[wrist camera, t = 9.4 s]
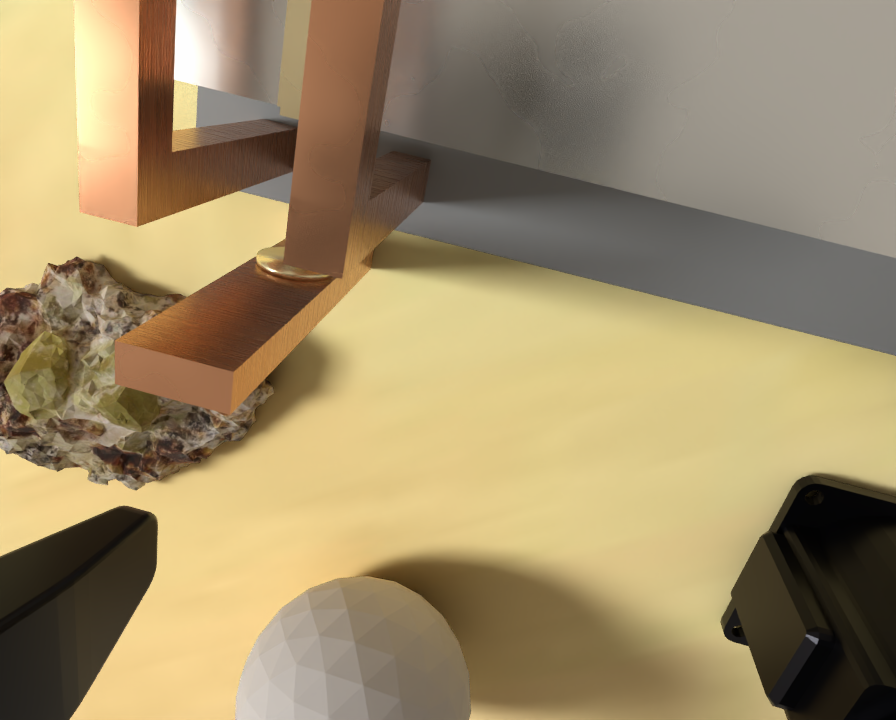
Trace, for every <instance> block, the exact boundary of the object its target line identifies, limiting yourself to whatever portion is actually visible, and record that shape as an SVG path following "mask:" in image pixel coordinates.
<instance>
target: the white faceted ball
mask: <svg viewBox="0 0 896 720" xmlns="http://www.w3.org/2000/svg"><path fill="white" fill-rule="evenodd" d="M470 713H471V704H470V681H469V671H468V668H467V665H466V662H465V659H464V656H463V653H462V650H461V647H460V644H459V641H458V639H457V638H456V636H455V635H454V633H453V631H452V630H451V628H450V626H449V625H448V623H447V622H446V620H445V618H444V617H443V615H442V614H441V613H439V612H438V611H437V610H436V609H435V608H434V607H433V606H432V605H431V604H430V603H429V602H428V601H426V600H425V599H424V598H423V597H422V596H421V595H420V594H418V593H416V592H414V591H412V590H410V589H408V588H406V587H405V586H403V585H401V584H399V583H397V582H395V581H390V580H385V579H380V578H374V577H369V576H361V577H350V578H339V579H335V580H332V581H329V582H326V583H324V584H321V585H318V586H315V587H312V588H310V589H308V590H306V591H305V592H304V593H302V594H301V595H299V596H298V597H296V598H295V599H294V600H292V601H291V602H289V603H288V604H286V605H285V606H284V607H282V608H281V609H280V611H279V612H278V613H277V614H276V615H275V617H274V618H273V619H272V620H271V621H270V623H269V624H268V625H267V626H266V628H265V629H264V630H263V631H262V633H261V634H260V635H259V636H258V638H257V640H256V642H255V644H254V646H253V648H252V650H251V652H250V654H249V656H248V658H247V660H246V663H245V666H244V669H243V672H242V675H241V679H240V683H239V687H238V691H237V696H236V713H235V720H469V717H470Z"/></svg>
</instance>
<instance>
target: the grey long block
mask: <svg viewBox="0 0 896 720" xmlns="http://www.w3.org/2000/svg"><path fill="white" fill-rule="evenodd" d="M311 1H312V0H176V33H175V66H174V80H178V81H182V82H186V83H190V84H194V85H198V86H202V87H206V88H210V89H214V90H218V91H222V92H227V93H231V94H235V95H239V96H243V97H247V98H251V99H255V100H259V101H263V102H267V103H271V104H275V105H277V106H278V107H280V115H281V116H285V117H289V118H293V119H297V120H299V112H300V103H301V93H302V84H303V75H304V66H305V56H306V47H307V38H308V29H309V20H310V10H311ZM380 131H384V132H388V133H392V134H396V135H400V136H404V137H408V138H412V139H417V140H421V141H425V142H429V143H433V144H437V145H441V146H445V147H449V148H453V149H457V150H461V151H465V152H469V153H473V154H477V155H481V156H485V157H489V158H493V159H497V160H501V161H505V162H510V163H514V164H518V165H522V166H526V167H530V168H534V169H538V170H542V171H546V172H550V173H554V174H558V175H562V176H566V177H570V178H574V179H578V180H582V181H586V182H590V183H594V184H598V185H603V186H607V187H611V188H615V189H619V190H623V191H627V192H631V193H635V194H639V195H643V196H647V197H651V198H655V199H659V200H663V201H667V202H671V203H675V204H679V205H683V206H687V207H691V208H695V209H700V210H704V211H708V212H712V213H716V214H720V215H724V216H728V217H732V218H736V219H740V220H744V221H748V222H752V223H756V224H760V225H764V226H768V227H772V228H776V229H780V230H784V231H788V232H793V233H797V234H801V235H805V236H809V237H813V238H817V239H821V240H825V241H829V242H833V243H837V244H841V245H845V246H849V247H853V248H857V249H861V250H865V251H869V252H873V253H877V254H881V255H886V256H890V257H894V258H896V0H401V4H400V11H399V17H398V23H397V29H396V36H395V42H394V48H393V54H392V61H391V67H390V73H389V79H388V86H387V92H386V98H385V104H384V111H383V117H382V123H381V129H380Z"/></svg>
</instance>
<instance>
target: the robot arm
mask: <svg viewBox="0 0 896 720" xmlns="http://www.w3.org/2000/svg"><path fill="white" fill-rule="evenodd" d="M811 491H818V493H817V494H816V495H815V496H812V497H805V496H806V495H807V494H808V493H809V492H811ZM157 536H158V522H157V518H156V516H155V515H154V514H152V513H151V512H147V511H144V510H140V509H136V508H133V507H129V506H119V507H116V508H114V509H111V510H109V511H106V512H104V513H102V514H99V515H97V516H95V517H92V518H90V519H88V520H85V521H83V522H80V523H78V524H76V525H73V526H71V527H69V528H66V529H64V530H62V531H59V532H57V533H54V534H52V535H50V536H47V537H45V538H43V539H40V540H38V541H36V542H33V543H31V544H28V545H26V546H24V547H21V548H19V549H17V550H14V551H12V552H10V553H7V554H5V555H2V556H0V720H70V718H71V717H72V715H73V714H74V712H75V711H76V709H77V708H78V706H79V705H80V703H81V702H82V700H83V698H84V697H85V695H86V694H87V692H88V690H89V689H90V687H91V685H92V684H93V682H94V680H95V679H96V677H97V675H98V674H99V672H100V670H101V668H102V667H103V665H104V663H105V662H106V660H107V658H108V656H109V655H110V653H111V651H112V650H113V648H114V646H115V644H116V643H117V641H118V639H119V638H120V636H121V634H122V632H123V631H124V629H125V627H126V626H127V624H128V622H129V620H130V619H131V617H132V615H133V614H134V612H135V610H136V608H137V607H138V605H139V603H140V602H141V600H142V598H143V596H144V595H145V593H146V591H147V590H148V588H149V586H150V584H151V582H152V580H153V577H154V574H155V571H156V565H157ZM731 596H732V600H731V602H730V603H729V605H728V607H727V609H726V611H725V613H724V615H723V616H722V619H721V625H722V629H723V632H724V635H725V637H726V638H727V639H728V640H730V641H733V642H735V643H739V644H743V645H746V646H749V648H750V651H751V653H752V656H753V659H754V662H755V665H756V668H757V671H758V674H759V676H760V679H761V682H762V685H763V688H764V691H765V694H766V696H767V697H768V699H769V701H770V702H771V704H772V706H775V707H779V708H782V709H784V711H785V713H786V716H787V719H788V720H896V497H894V496H890V495H886V494H883V493H879V492H875V491H871V490H867V489H863V488H860V487H856V486H852V485H848V484H844V483H840V482H837V481H833V480H829V479H825V478H821V477H817V476H807V477H803V478H801V479H799V480H797V481H796V482H795V484H794V485H793V486H792V488H791V490H790V492H789V494H788V496H787V497H786V499H785V501H784V503H783V505H782V507H781V509H780V510H779V512H778V514H777V516H776V518H775V520H774V522H773V523H772V525H771V527H770V529H769V531H767V532H766V533H765V534H763V535H762V536H761V537H760V539H759V540H758V542H757V544H756V546H755V548H754V550H753V552H752V554H751V555H750V557H749V559H748V561H747V563H746V565H745V567H744V569H743V570H742V572H741V574H740V576H739V578H738V580H737V582H736V584H735V585H734V587H733V589H732V591H731ZM738 625H741V626H742V627H739V628H734V627H735V626H738Z"/></svg>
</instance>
